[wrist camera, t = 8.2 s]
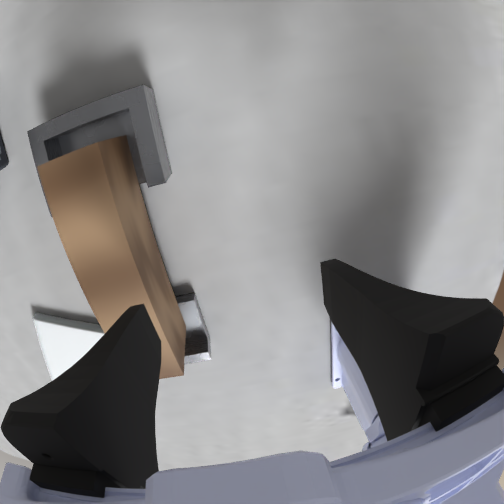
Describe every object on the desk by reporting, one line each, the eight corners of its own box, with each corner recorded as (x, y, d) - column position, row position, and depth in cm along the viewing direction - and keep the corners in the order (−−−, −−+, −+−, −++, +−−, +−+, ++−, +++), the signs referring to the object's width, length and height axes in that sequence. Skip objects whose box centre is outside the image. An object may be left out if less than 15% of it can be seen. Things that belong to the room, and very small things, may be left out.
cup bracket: (171, 172, 18) (165, 182, 16) (70, 203, 18) (51, 217, 15) (153, 89, 16) (143, 84, 13) (50, 127, 16) (27, 131, 13)
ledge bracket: (210, 338, 24) (211, 359, 22) (142, 350, 24) (137, 370, 22) (194, 292, 22) (193, 312, 20) (121, 307, 22) (114, 327, 20)
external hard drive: (122, 323, 23) (132, 410, 28) (38, 308, 22) (64, 397, 26) (118, 335, 22) (130, 422, 27) (30, 318, 20) (60, 407, 25)
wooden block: (186, 326, 22) (183, 375, 18) (143, 334, 22) (133, 382, 17) (126, 134, 16) (97, 142, 12) (76, 152, 16) (37, 166, 11)
